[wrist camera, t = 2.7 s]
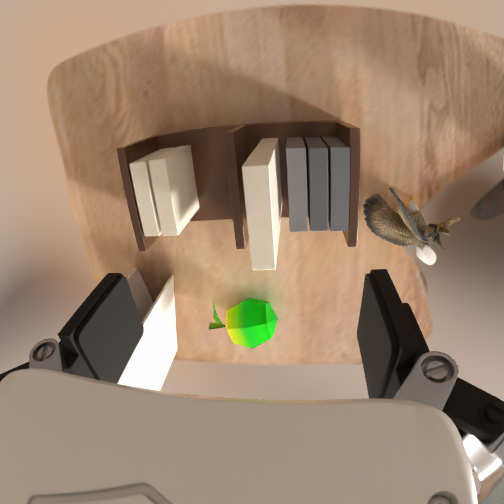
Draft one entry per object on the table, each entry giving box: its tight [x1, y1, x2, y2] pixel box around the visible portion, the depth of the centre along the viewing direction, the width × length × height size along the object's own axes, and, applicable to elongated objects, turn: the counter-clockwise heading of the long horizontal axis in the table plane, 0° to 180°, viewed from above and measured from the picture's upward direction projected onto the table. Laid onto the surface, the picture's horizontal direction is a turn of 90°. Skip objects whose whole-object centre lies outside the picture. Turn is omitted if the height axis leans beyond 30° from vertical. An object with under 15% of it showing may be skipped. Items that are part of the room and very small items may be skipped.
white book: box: [242, 138, 282, 270], centre depth 25 cm, size 2×7×13 cm, turn 5°
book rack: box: [117, 121, 360, 251], centre depth 28 cm, size 20×10×8 cm, turn 95°
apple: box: [208, 298, 278, 348], centre depth 38 cm, size 7×6×9 cm
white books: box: [129, 145, 199, 236], centre depth 29 cm, size 4×7×7 cm, turn 5°
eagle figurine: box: [363, 188, 461, 265], centre depth 29 cm, size 8×7×9 cm
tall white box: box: [118, 267, 177, 391], centre depth 29 cm, size 14×6×30 cm, turn 174°
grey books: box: [286, 137, 350, 232], centre depth 27 cm, size 5×7×7 cm
